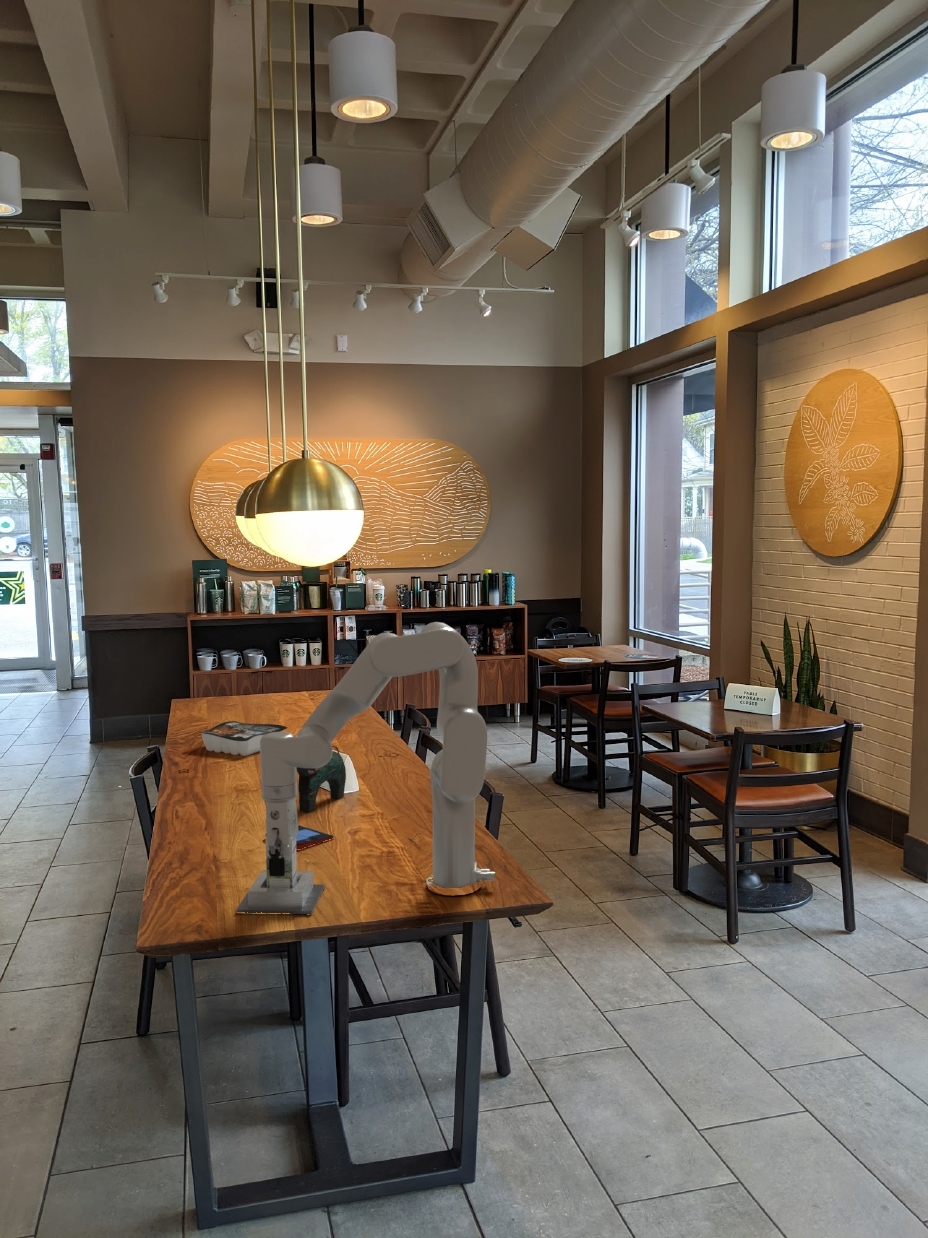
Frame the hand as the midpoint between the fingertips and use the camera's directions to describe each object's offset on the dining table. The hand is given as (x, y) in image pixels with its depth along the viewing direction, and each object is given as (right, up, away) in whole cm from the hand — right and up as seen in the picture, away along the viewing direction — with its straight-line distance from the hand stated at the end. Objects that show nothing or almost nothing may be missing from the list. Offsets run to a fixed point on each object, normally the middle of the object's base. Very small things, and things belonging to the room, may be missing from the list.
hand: (282, 867), depth 201 cm
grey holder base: (0, -8, +1) cm, 8 cm away
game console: (-4, -4, +40) cm, 41 cm away
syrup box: (0, -7, +1) cm, 7 cm away
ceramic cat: (-3, -1, +70) cm, 70 cm away
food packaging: (-42, +6, +138) cm, 144 cm away
